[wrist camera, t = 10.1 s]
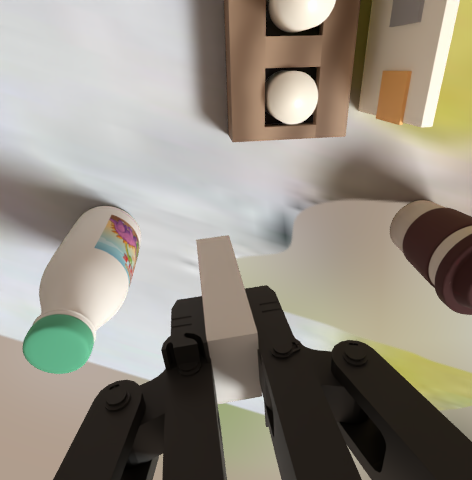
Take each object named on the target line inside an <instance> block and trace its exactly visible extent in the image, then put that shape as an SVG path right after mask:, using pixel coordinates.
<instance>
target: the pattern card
mask: <svg viewBox="0 0 472 480" xmlns="http://www.w3.org/2000/svg"><path fill="white" fill-rule="evenodd" d="M459 2H460V0H372V5H371V13H370V21H369V29H368V37H367V45H366V53H365V61H364V69H363V77H362V85H361V93H360V101H359V109H358V111H361V112H365V113H369V114H372V115H376V119H380V120H383V121H387V122H391V123H394V124H398V125H402V123H407V124H411V125H414V126H418V127H432V125H433V121H434V116H435V111H436V107H437V102H438V98H439V93H440V89H441V84H442V79H443V75H444V70H445V66H446V61H447V57H448V52H449V47H450V43H451V38H452V34H453V29H454V24H455V20H456V15H457V11H458V6H459Z"/></svg>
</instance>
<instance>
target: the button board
mask: <svg viewBox="0 0 472 480" xmlns="http://www.w3.org/2000/svg"><path fill="white" fill-rule="evenodd" d="M360 1H361V0H336V2H335V5H334V8H333V10H332V12H331V13H330V15H329V16H328V17H327V19H326V20H325V21H324V22H322V23H321V24H320V30H319V35H315V36H266V0H224V18H225V47H226V77H227V106H228V135H229V137H230V138H231V140H232V142H245V141H264V140H284V139H303V138H323V137H342V136H345V135H346V126H347V117H348V108H349V99H350V90H351V81H352V72H353V63H354V54H355V45H356V37H357V28H358V19H359V10H360ZM289 67H317V73H316V86H317V90H318V102H317V105H316V108H315V110H314V115H313V122H303V123H298V124H286V123H281V124H265V68H289Z"/></svg>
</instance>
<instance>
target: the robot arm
mask: <svg viewBox="0 0 472 480" xmlns="http://www.w3.org/2000/svg"><path fill="white" fill-rule="evenodd" d="M196 241H197V251H198V261H199V271H200V280H201V290H202V296H200V297H194V298H187V299H180V300H177V301H176V303H175V304H174V306H173V308H172V312H171V320H172V321H171V336H170V337H168V339H167V340H166V341H165V342H164V343H163V346H162V349H161V351H162V355H163V359H164V363H165V367H166V369H165V370H164V372H163V373H161V374H160V375H159V376H158V377H156V378H155V379H153V380H151V381H149V382H147V383H144V384H142V385H140V386H139V385H138V384H137V383H135V382H134V381H130V380H121V381H116V382H114V383H112V384H110V385H108V386H106V387H105V388H104V389H103V390H101V391H100V392H99V394H98V395H97V397H96V398H95V399H94V401H93V403H92V405H91V407H90V409H89V411H88V413H87V415H86V417H85V419H84V421H83V423H82V425H81V427H80V428H79V430H78V432H77V434H76V436H75V438H74V440H73V442H72V444H71V446H70V448H69V450H68V452H67V454H66V456H65V458H64V460H63V462H62V464H61V465H60V468H59V470H58V471H57V473H56V475H55V477H54V479H53V480H152V479H153V476H154V472H155V469H156V465H157V461H158V458H159V455H161V454H162V453H163V480H227V477H226V468H225V460H224V451H223V443H222V436H221V426H220V419H219V412H218V404H222V403H227V402H233V401H238V400H244V399H249V398H255V397H260V396H262V393H263V397H264V405H265V421H266V427H269V430H270V434H271V438H272V442H273V446H274V450H275V455H276V459H277V463H278V467H279V471H280V475H281V479H282V480H362V479H361V477H360V475H359V472H358V470H357V468H356V465H355V463H354V461H353V458H352V456H351V454H350V452H349V449H350V450H351V451H352V453H353V454H354V456H355V457H356V458H357V460H358V461H359V463H360V464H361V465H362V467H363V468H364V470H365V471H366V472H367V474H368V475H369V477H370V478H371V479H372V480H472V442H471V441H470V440H469V439H468V438H467V437H466V436H465V435H464V434H463V433H462V432H461V431H460V430H459V429H458V428H457V427H455V426H454V425H453V424H452V423H451V422H450V421H449V420H448V419H447V418H446V417H445V416H444V415H443V414H442V413H441V412H440V411H439V410H438V409H436V408H435V407H434V406H433V405H432V404H431V403H430V402H429V401H428V400H427V399H426V398H425V397H424V396H423V395H422V394H421V393H419V392H418V391H417V390H416V389H415V388H414V387H413V386H412V385H411V384H410V383H409V382H408V381H407V380H406V379H405V378H404V377H403V376H401V375H400V374H399V373H398V372H397V371H396V370H395V369H394V368H393V367H392V366H391V365H390V364H389V363H388V362H387V361H386V360H385V359H383V358H382V357H381V356H380V355H379V354H378V353H377V352H376V351H375V350H374V349H373V348H371V347H370V346H368V345H367V344H365V343H362V342H359V341H353V340H347V341H342V342H340V343H338V344H337V345H335V346H334V348H333V350H332V352H330V351H319V350H313V349H310V348H307V347H305V346H303V345H302V344H301V343H300V341H298V340H297V339H295V337H294V336H293V334H292V331H291V329H290V326H289V324H288V322H287V319H286V317H285V315H284V312H283V310H282V308H281V305H280V303H279V301H278V298H277V296H276V294H275V292H274V291H273V290H272V289H270V288H269V287H268V286H259V287H254V288H246V289H245V288H244V285H243V282H242V278H241V275H240V271H239V268H238V265H237V261H236V258H235V254H234V251H233V248H232V244H231V241H230V237H229V235H228V236H221V237H214V238H206V239H199V240H196ZM346 444H347V445H346ZM347 446H348V447H349V449H348V447H347Z"/></svg>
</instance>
